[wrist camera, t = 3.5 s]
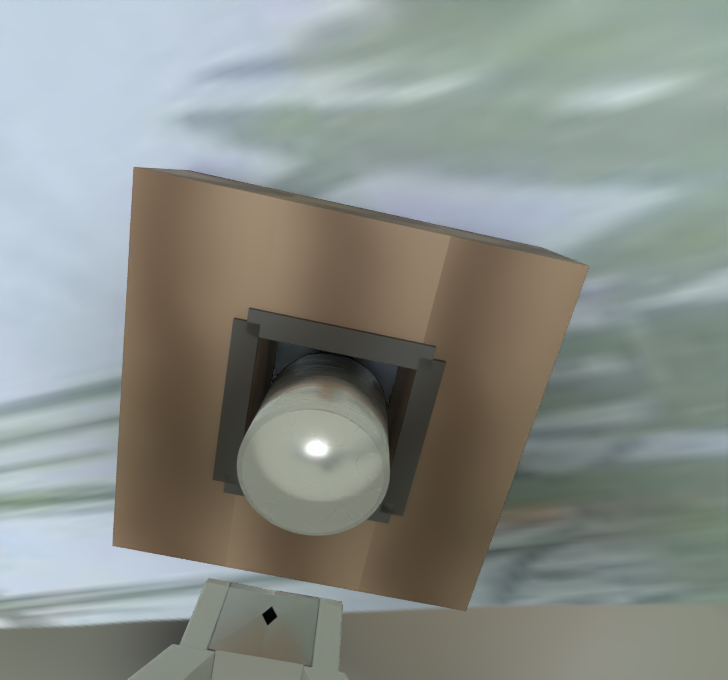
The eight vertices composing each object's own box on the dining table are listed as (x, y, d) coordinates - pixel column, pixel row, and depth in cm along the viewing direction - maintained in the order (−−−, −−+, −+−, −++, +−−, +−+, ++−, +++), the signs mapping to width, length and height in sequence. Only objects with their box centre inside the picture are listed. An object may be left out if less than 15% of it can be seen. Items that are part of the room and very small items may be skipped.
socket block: (542, 247, 22) (591, 267, 17) (449, 534, 27) (466, 614, 22) (188, 170, 21) (130, 166, 16) (160, 479, 26) (110, 549, 21)
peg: (399, 367, 19) (405, 421, 15) (372, 472, 21) (372, 549, 17) (276, 342, 19) (246, 389, 15) (258, 450, 21) (227, 522, 16)
